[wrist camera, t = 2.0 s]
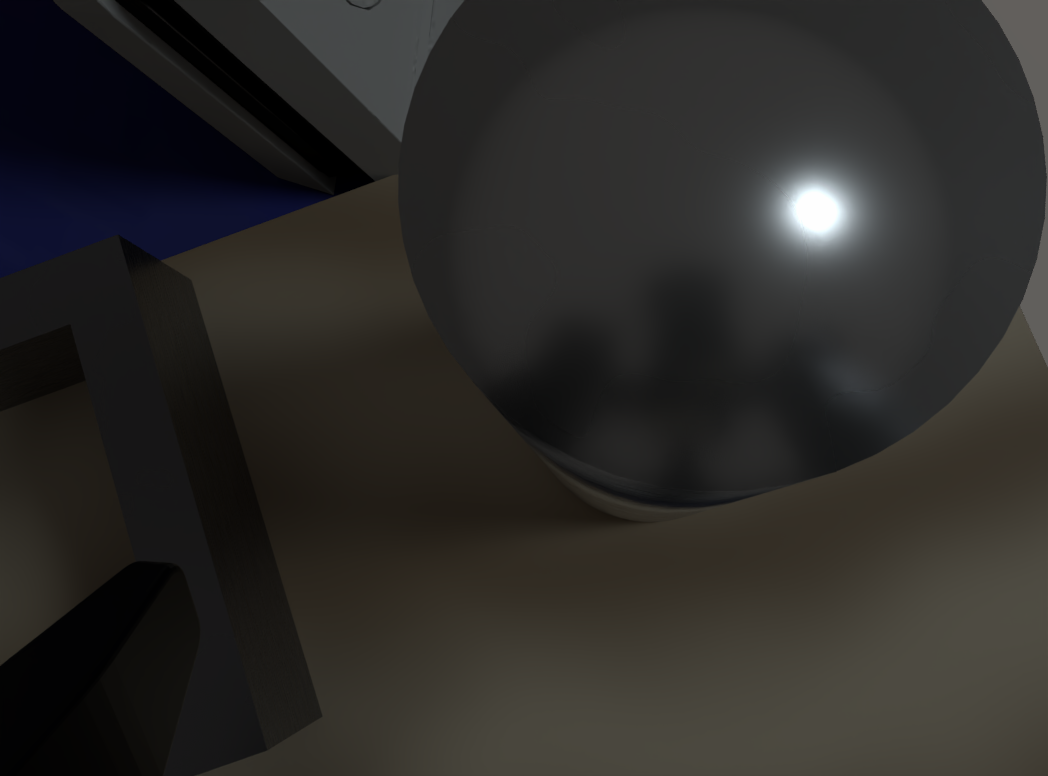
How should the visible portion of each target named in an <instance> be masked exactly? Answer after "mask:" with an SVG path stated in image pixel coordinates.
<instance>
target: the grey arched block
mask: <svg viewBox="0 0 1048 776" xmlns="http://www.w3.org/2000/svg"><path fill="white" fill-rule="evenodd" d="M53 1H54V2H55V3H56V4H57V5H58V6H59V7H60V8H61V9H62V10H63V11H65V12H66V13H67V14H68V15H70V16H71V17H72V18H74V19H75V20H76V21H77V22H79V23H80V24H81V25H83V26H84V27H85V28H86V29H88V30H89V31H90V32H92V33H93V34H94V35H95V36H97V37H98V38H99V39H101V40H102V41H103V42H104V43H106V44H107V45H108V46H110V47H111V48H112V49H113V50H115V51H116V52H117V53H119V54H120V55H121V56H122V57H124V58H125V59H126V60H128V61H129V62H130V63H131V64H133V65H134V66H135V67H137V68H138V69H139V70H140V71H142V72H143V73H144V74H146V75H147V76H148V77H149V78H151V79H152V80H153V81H155V82H156V83H157V84H158V85H160V86H161V87H162V88H164V89H165V90H166V91H167V92H169V93H170V94H171V95H173V96H174V97H175V98H176V99H178V100H179V101H180V102H182V103H183V104H184V105H185V106H187V107H188V108H189V109H191V110H192V111H193V112H194V113H196V114H197V115H198V116H200V117H201V118H202V119H203V120H205V121H206V122H207V123H209V124H210V125H211V126H212V127H214V128H215V129H216V130H218V131H219V132H220V133H221V134H223V135H224V136H225V137H227V138H228V139H229V140H230V141H232V142H233V143H234V144H236V145H237V146H238V147H239V148H241V149H242V150H243V151H245V152H246V153H247V154H248V155H250V156H251V157H252V158H254V159H255V160H256V161H257V162H259V163H260V164H261V165H263V166H264V167H265V168H266V169H268V170H269V171H270V172H272V173H273V174H274V175H275V176H277V177H278V178H281V179H284V180H287V181H290V182H294V183H297V184H300V185H303V186H306V187H310V188H313V189H316V190H319V191H322V192H326V193H329V194H332V195H334V191H335V184H336V177H337V176H345V174H346V166H347V160H348V161H349V162H350V163H352V164H353V165H354V166H355V167H356V168H357V169H358V170H359V171H361V172H362V173H363V174H368V175H369V176H370V177H371V178H372V179H373V180H374V181H378V180H381V179H384V178H386V177H389V176H392V175H398V163H399V156H400V149H401V143H402V136H403V129H404V123H405V120H406V116H407V113H408V109H409V106H410V102H411V99H412V95H413V92H414V88H415V86H416V83H417V81H418V79H419V76H420V74H421V72H422V70H423V67H424V65H425V63H426V60H427V58H428V56H429V53H430V51H431V50H432V48H433V46H434V45H435V43H436V41H437V40H438V38H439V36H440V34H441V33H442V31H443V29H444V28H445V26H446V24H447V23H448V21H449V19H450V18H451V17H452V15H453V14H454V13H455V12H456V10H457V9H458V8H459V6H460V5H461V4H462V3H463V1H464V0H53Z"/></svg>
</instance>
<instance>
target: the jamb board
mask: <svg viewBox="0 0 1048 776" xmlns="http://www.w3.org/2000/svg"><path fill="white" fill-rule="evenodd" d="M162 262H163V263H165V264H166V265H168V266H170V267H171V268H173V269H175V270H176V271H178V272H179V273H181V274H183V275H184V276H186V277H188V278H189V279H191V280H192V283H193V287H194V290H195V293H196V297H197V300H198V303H199V307H200V310H201V313H202V317H203V320H204V323H205V327H206V330H207V333H208V337H209V340H210V343H211V347H212V350H213V353H214V357H215V360H216V363H217V367H218V370H219V373H220V377H221V380H222V383H223V387H224V390H225V393H226V397H227V400H228V403H229V406H230V410H231V413H232V416H233V420H234V423H235V426H236V430H237V433H238V436H239V440H240V443H241V446H242V450H243V453H244V456H245V460H246V463H247V466H248V470H249V473H250V476H251V480H252V483H253V486H254V490H255V493H256V496H257V500H258V503H259V506H260V510H261V513H262V516H263V520H264V523H265V526H266V530H267V533H268V536H269V540H270V543H271V546H272V549H273V553H274V556H275V559H276V563H277V566H278V569H279V573H280V576H281V579H282V583H283V586H284V589H285V593H286V596H287V599H288V603H289V606H290V609H291V613H292V616H293V619H294V623H295V626H296V629H297V633H298V636H299V639H300V643H301V646H302V649H303V653H304V656H305V659H306V663H307V666H308V669H309V673H310V676H311V679H312V683H313V686H314V689H315V693H316V696H317V699H318V702H319V706H320V709H321V712H322V716H323V717H321V718H319V719H318V720H316V721H314V722H313V723H311V724H310V725H308V726H306V727H305V728H303V729H301V730H300V731H298V732H297V733H295V734H293V735H292V736H290V737H288V738H287V739H285V740H284V741H282V742H280V743H279V744H277V745H275V746H274V747H272V748H271V749H269V750H267V751H264V752H262V753H259V754H256V755H253V756H250V757H247V758H245V759H242V760H239V761H236V762H233V763H230V764H227V765H225V766H222V767H219V768H216V769H213V770H210V771H208V772H205V773H202V774H199V775H196V776H1048V367H1047V365H1046V363H1045V361H1044V359H1043V356H1042V354H1041V352H1040V350H1039V347H1038V345H1037V343H1036V341H1035V339H1034V336H1033V334H1032V332H1031V330H1030V328H1029V325H1028V323H1027V321H1026V319H1025V317H1024V314H1023V312H1022V310H1021V308H1020V306H1019V308H1018V310H1017V312H1016V314H1015V315H1014V317H1013V319H1012V321H1011V323H1010V325H1009V327H1008V329H1007V331H1006V333H1005V335H1004V337H1003V338H1002V340H1001V341H1000V343H999V344H998V345H997V347H996V348H995V350H994V351H993V352H992V354H991V355H990V357H989V358H988V359H987V361H986V362H985V364H984V365H983V366H982V368H981V369H980V371H979V372H978V373H977V374H976V375H975V376H974V377H973V379H972V380H971V381H970V382H969V383H968V384H967V385H966V386H965V387H964V388H963V389H962V390H961V391H960V392H959V393H958V394H957V395H956V397H955V398H954V399H953V400H952V401H951V402H950V403H949V404H948V405H947V406H945V407H944V408H943V409H942V410H940V411H939V412H938V413H937V414H935V415H934V416H933V417H932V418H930V419H929V420H928V421H927V422H925V423H924V424H923V425H922V426H920V427H919V428H918V429H917V430H915V431H914V432H913V433H911V434H909V435H908V436H906V437H904V438H903V439H901V440H899V441H898V442H896V443H894V444H893V445H891V446H889V447H888V448H886V449H884V450H883V451H881V452H879V453H878V454H876V455H874V456H871V457H869V458H867V459H864V460H862V461H860V462H857V463H855V464H853V465H850V466H848V467H846V468H843V469H841V470H839V471H836V472H834V473H830V474H827V475H824V476H820V477H817V478H814V479H810V480H807V481H804V482H800V483H797V484H794V485H790V486H787V487H784V488H780V489H777V490H774V491H770V492H767V493H763V494H760V495H757V496H753V497H750V498H747V499H743V500H740V501H737V502H733V503H730V504H727V505H723V506H720V507H717V508H713V509H710V510H707V511H703V512H700V513H697V514H693V515H690V516H686V517H683V518H679V519H676V520H669V521H662V522H640V521H631V520H626V519H622V518H618V517H614V516H611V515H609V514H606V513H604V512H601V511H599V510H597V509H595V508H593V507H592V506H590V505H588V504H586V503H585V502H583V501H582V500H581V499H579V498H578V497H576V496H575V495H574V494H572V493H571V492H570V491H569V490H568V489H567V488H566V487H565V486H564V485H563V484H562V483H561V482H560V481H559V479H558V478H557V477H556V476H555V475H554V474H553V473H552V472H551V470H550V469H549V468H548V467H547V466H546V465H545V464H544V462H543V461H542V460H541V459H540V458H539V457H538V456H537V454H536V453H535V452H534V451H533V450H532V449H531V448H530V446H529V445H528V444H527V443H526V442H525V441H524V440H523V439H522V437H521V436H520V435H519V434H518V433H517V432H516V431H515V429H514V428H513V427H512V426H511V425H510V424H509V423H508V421H507V420H506V419H505V418H504V417H503V416H502V415H501V413H500V412H499V411H498V410H497V409H496V408H495V407H494V406H493V404H492V403H491V402H490V401H489V400H488V399H487V398H486V396H485V395H484V394H483V393H482V392H481V391H480V390H479V388H478V387H477V386H476V385H475V384H474V383H473V381H472V380H471V379H470V378H469V376H468V375H467V374H466V372H465V371H464V370H463V369H462V367H461V366H460V365H459V364H458V362H457V361H456V360H455V358H454V357H453V356H452V355H451V353H450V352H449V350H448V349H447V347H446V345H445V344H444V342H443V340H442V339H441V337H440V335H439V333H438V332H437V330H436V328H435V327H434V325H433V323H432V322H431V320H430V318H429V316H428V314H427V312H426V309H425V307H424V304H423V302H422V300H421V297H420V295H419V292H418V290H417V288H416V285H415V283H414V281H413V277H412V273H411V270H410V266H409V262H408V258H407V255H406V251H405V247H404V243H403V238H402V230H401V222H400V214H399V206H398V175H392V176H389V177H386V178H384V179H381V180H378V181H375V182H373V183H370V184H367V185H365V186H362V187H359V188H357V189H354V190H351V191H348V192H346V193H343V194H340V195H338V196H335V197H332V198H329V199H327V200H324V201H321V202H319V203H316V204H313V205H311V206H308V207H305V208H302V209H300V210H297V211H294V212H292V213H289V214H286V215H283V216H281V217H278V218H275V219H273V220H270V221H267V222H265V223H262V224H259V225H256V226H254V227H251V228H248V229H246V230H243V231H240V232H237V233H235V234H232V235H229V236H227V237H224V238H221V239H219V240H216V241H213V242H210V243H208V244H205V245H202V246H200V247H197V248H194V249H191V250H189V251H186V252H183V253H181V254H178V255H175V256H173V257H170V258H167V259H164V260H162ZM133 562H136V561H135V557H134V553H133V550H132V546H131V543H130V539H129V535H128V532H127V528H126V524H125V521H124V517H123V514H122V510H121V506H120V503H119V499H118V495H117V492H116V488H115V485H114V481H113V477H112V474H111V470H110V466H109V463H108V459H107V456H106V452H105V448H104V445H103V441H102V437H101V434H100V430H99V427H98V423H97V419H96V416H95V412H94V408H93V405H92V401H91V398H90V394H89V390H88V387H87V383H86V381H83V382H80V383H77V384H75V385H72V386H69V387H66V388H64V389H61V390H58V391H56V392H53V393H50V394H47V395H45V396H42V397H39V398H36V399H34V400H31V401H28V402H26V403H23V404H20V405H17V406H15V407H12V408H9V409H6V410H4V411H1V412H0V665H1V664H3V663H4V662H5V661H7V660H8V659H9V658H10V657H12V656H13V655H14V654H15V653H17V652H18V651H19V650H20V649H22V648H23V647H24V646H26V645H27V644H28V643H29V642H31V641H32V640H33V639H34V638H36V637H37V636H38V635H40V634H41V633H42V632H43V631H45V630H46V629H47V628H48V627H50V626H51V625H52V624H53V623H55V622H56V621H57V620H59V619H60V618H61V617H62V616H64V615H65V614H66V613H67V612H69V611H70V610H71V609H72V608H74V607H75V606H76V605H78V604H79V603H80V602H81V601H83V600H84V599H85V598H86V597H88V596H89V595H90V594H91V593H93V592H94V591H95V590H97V589H98V588H99V587H100V586H102V585H103V584H104V583H105V582H107V581H108V580H109V579H111V578H112V577H113V576H114V575H116V574H117V573H118V572H119V571H121V570H122V569H123V568H125V567H126V566H127V565H129V564H131V563H133Z"/></svg>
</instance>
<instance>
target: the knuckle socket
mask: <svg viewBox="0 0 1048 776" xmlns="http://www.w3.org/2000/svg"><path fill="white" fill-rule="evenodd" d="M83 381H86V383H87V387H88V390H89V394H90V398H91V401H92V405H93V408H94V412H95V416H96V419H97V423H98V427H99V430H100V434H101V437H102V441H103V445H104V448H105V452H106V456H107V459H108V463H109V466H110V470H111V474H112V477H113V481H114V485H115V488H116V492H117V495H118V499H119V503H120V506H121V510H122V514H123V517H124V521H125V524H126V528H127V532H128V535H129V539H130V543H131V546H132V550H133V553H134V557H135V561H136V562H137V561H152V562H167V563H174V564H177V565H178V566H179V567H180V568H181V569H182V570H183V572H184V574H185V577H186V580H187V583H188V586H189V590H190V593H191V596H192V599H193V602H194V605H195V608H196V611H197V614H198V618H199V622H200V630H201V632H200V643H199V648H198V652H197V656H196V659H195V663H194V667H193V670H192V674H191V677H190V681H189V685H188V688H187V692H186V696H185V699H184V703H183V706H182V710H181V714H180V717H179V721H178V725H177V728H176V732H175V735H174V739H173V743H172V746H171V750H170V754H169V757H168V761H167V764H166V768H165V772H164V775H163V776H196V775H199V774H202V773H205V772H208V771H210V770H213V769H216V768H219V767H222V766H225V765H227V764H230V763H233V762H236V761H239V760H242V759H245V758H247V757H250V756H253V755H256V754H259V753H262V752H264V751H267V750H269V749H271V748H272V747H274V746H275V745H277V744H279V743H280V742H282V741H284V740H285V739H287V738H288V737H290V736H292V735H293V734H295V733H297V732H298V731H300V730H301V729H303V728H305V727H306V726H308V725H310V724H311V723H313V722H314V721H316V720H318V719H319V718H321V717H323V716H322V712H321V709H320V706H319V702H318V699H317V696H316V693H315V689H314V686H313V683H312V679H311V676H310V673H309V669H308V666H307V663H306V659H305V656H304V653H303V649H302V646H301V643H300V639H299V636H298V633H297V629H296V626H295V623H294V619H293V616H292V613H291V609H290V606H289V603H288V599H287V596H286V593H285V589H284V586H283V583H282V579H281V576H280V573H279V569H278V566H277V563H276V559H275V556H274V553H273V549H272V546H271V543H270V540H269V536H268V533H267V530H266V526H265V523H264V520H263V516H262V513H261V510H260V506H259V503H258V500H257V496H256V493H255V490H254V486H253V483H252V480H251V476H250V473H249V470H248V466H247V463H246V460H245V456H244V453H243V450H242V446H241V443H240V440H239V436H238V433H237V430H236V426H235V423H234V420H233V416H232V413H231V410H230V406H229V403H228V400H227V397H226V393H225V390H224V387H223V383H222V380H221V377H220V373H219V370H218V367H217V363H216V360H215V357H214V353H213V350H212V347H211V343H210V340H209V337H208V333H207V330H206V327H205V323H204V320H203V317H202V313H201V310H200V307H199V303H198V300H197V297H196V293H195V290H194V287H193V283H192V280H191V279H189V278H188V277H186V276H184V275H183V274H181V273H179V272H178V271H176V270H175V269H173V268H171V267H170V266H168V265H166V264H165V263H163V262H162V261H160V260H158V259H157V258H155V257H154V256H152V255H150V254H149V253H147V252H145V251H144V250H142V249H141V248H139V247H137V246H136V245H134V244H133V243H131V242H129V241H128V240H126V239H124V238H123V237H121V236H120V235H116V236H113V237H110V238H107V239H105V240H102V241H99V242H97V243H94V244H91V245H89V246H86V247H83V248H80V249H78V250H75V251H72V252H70V253H67V254H64V255H62V256H59V257H56V258H54V259H51V260H48V261H45V262H43V263H40V264H37V265H35V266H32V267H29V268H27V269H24V270H21V271H18V272H16V273H13V274H10V275H8V276H5V277H2V278H0V412H1V411H4V410H6V409H9V408H12V407H15V406H17V405H20V404H23V403H26V402H28V401H31V400H34V399H36V398H39V397H42V396H45V395H47V394H50V393H53V392H56V391H58V390H61V389H64V388H66V387H69V386H72V385H75V384H77V383H80V382H83Z"/></svg>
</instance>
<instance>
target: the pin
mask: <svg viewBox="0 0 1048 776" xmlns="http://www.w3.org/2000/svg"><path fill="white" fill-rule="evenodd" d="M1046 178H1047V176H1046V166H1045V155H1044V144H1043V136H1042V132H1041V127H1040V123H1039V118H1038V114H1037V110H1036V106H1035V102H1034V97H1033V95H1032V92H1031V90H1030V87H1029V84H1028V82H1027V79H1026V77H1025V74H1024V72H1023V69H1022V67H1021V64H1020V61H1019V59H1018V57H1017V55H1016V54H1015V52H1014V50H1013V48H1012V46H1011V45H1010V43H1009V41H1008V39H1007V37H1006V36H1005V34H1004V32H1003V30H1002V28H1001V27H1000V25H999V23H998V22H997V20H995V18H994V16H993V15H992V14H991V12H990V11H989V10H988V8H987V7H986V6H985V4H984V3H983V2H982V0H464V1H463V3H462V4H461V5H460V6H459V8H458V9H457V10H456V12H455V13H454V14H453V15H452V17H451V18H450V19H449V21H448V23H447V24H446V26H445V28H444V29H443V31H442V33H441V34H440V36H439V38H438V40H437V41H436V43H435V45H434V46H433V48H432V50H431V51H430V53H429V56H428V58H427V60H426V63H425V65H424V67H423V70H422V72H421V74H420V76H419V79H418V81H417V83H416V86H415V88H414V92H413V95H412V99H411V102H410V106H409V109H408V113H407V116H406V120H405V123H404V129H403V136H402V143H401V149H400V156H399V163H398V206H399V214H400V222H401V230H402V238H403V243H404V247H405V251H406V255H407V258H408V262H409V266H410V270H411V273H412V277H413V281H414V283H415V285H416V288H417V290H418V292H419V295H420V297H421V300H422V302H423V304H424V307H425V309H426V312H427V314H428V316H429V318H430V320H431V322H432V323H433V325H434V327H435V328H436V330H437V332H438V333H439V335H440V337H441V339H442V340H443V342H444V344H445V345H446V347H447V349H448V350H449V352H450V353H451V355H452V356H453V357H454V358H455V360H456V361H457V362H458V364H459V365H460V366H461V367H462V369H463V370H464V371H465V372H466V374H467V375H468V376H469V378H470V379H471V380H472V381H473V383H474V384H475V385H476V386H477V387H478V388H479V390H480V391H481V392H482V393H483V394H484V395H485V396H486V398H487V399H488V400H489V401H490V402H491V403H492V404H493V406H494V407H495V408H496V409H497V410H498V411H499V412H500V413H501V415H502V416H503V417H504V418H505V419H506V420H507V421H508V423H509V424H510V425H511V426H512V427H513V428H514V429H515V431H516V432H517V433H518V434H519V435H520V436H521V437H522V439H523V440H524V441H525V442H526V443H527V444H528V445H529V446H530V448H531V449H532V450H533V451H534V452H535V453H536V454H537V456H538V457H539V458H540V459H541V460H542V461H543V462H544V464H545V465H546V466H547V467H548V468H549V469H550V470H551V472H552V473H553V474H554V475H555V476H556V477H557V478H558V479H559V481H560V482H561V483H562V484H563V485H564V486H565V487H566V488H567V489H568V490H569V491H570V492H571V493H572V494H574V495H575V496H576V497H578V498H579V499H581V500H582V501H583V502H585V503H586V504H588V505H590V506H592V507H593V508H595V509H597V510H599V511H601V512H604V513H606V514H609V515H611V516H614V517H618V518H622V519H626V520H631V521H640V522H662V521H669V520H676V519H679V518H683V517H686V516H690V515H693V514H697V513H700V512H703V511H707V510H710V509H713V508H717V507H720V506H723V505H727V504H730V503H733V502H737V501H740V500H743V499H747V498H750V497H753V496H757V495H760V494H763V493H767V492H770V491H774V490H777V489H780V488H784V487H787V486H790V485H794V484H797V483H800V482H804V481H807V480H810V479H814V478H817V477H820V476H824V475H827V474H830V473H834V472H836V471H839V470H841V469H843V468H846V467H848V466H850V465H853V464H855V463H857V462H860V461H862V460H864V459H867V458H869V457H871V456H874V455H876V454H878V453H879V452H881V451H883V450H884V449H886V448H888V447H889V446H891V445H893V444H894V443H896V442H898V441H899V440H901V439H903V438H904V437H906V436H908V435H909V434H911V433H913V432H914V431H915V430H917V429H918V428H919V427H920V426H922V425H923V424H924V423H925V422H927V421H928V420H929V419H930V418H932V417H933V416H934V415H935V414H937V413H938V412H939V411H940V410H942V409H943V408H944V407H945V406H947V405H948V404H949V403H950V402H951V401H952V400H953V399H954V398H955V397H956V395H957V394H958V393H959V392H960V391H961V390H962V389H963V388H964V387H965V386H966V385H967V384H968V383H969V382H970V381H971V380H972V379H973V377H974V376H975V375H976V374H977V373H978V372H979V371H980V369H981V368H982V366H983V365H984V364H985V362H986V361H987V359H988V358H989V357H990V355H991V354H992V352H993V351H994V350H995V348H996V347H997V345H998V344H999V343H1000V341H1001V340H1002V338H1003V337H1004V335H1005V333H1006V331H1007V329H1008V327H1009V325H1010V323H1011V321H1012V319H1013V317H1014V315H1015V314H1016V312H1017V310H1018V308H1019V306H1020V304H1021V301H1022V300H1023V297H1024V294H1025V292H1026V289H1027V285H1028V283H1029V280H1030V277H1031V274H1032V271H1033V268H1034V266H1035V263H1036V260H1037V255H1038V250H1039V245H1040V240H1041V234H1042V229H1043V224H1044V219H1045V199H1046Z"/></svg>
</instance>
